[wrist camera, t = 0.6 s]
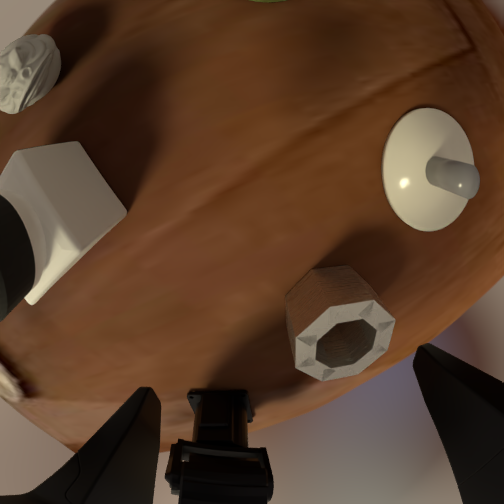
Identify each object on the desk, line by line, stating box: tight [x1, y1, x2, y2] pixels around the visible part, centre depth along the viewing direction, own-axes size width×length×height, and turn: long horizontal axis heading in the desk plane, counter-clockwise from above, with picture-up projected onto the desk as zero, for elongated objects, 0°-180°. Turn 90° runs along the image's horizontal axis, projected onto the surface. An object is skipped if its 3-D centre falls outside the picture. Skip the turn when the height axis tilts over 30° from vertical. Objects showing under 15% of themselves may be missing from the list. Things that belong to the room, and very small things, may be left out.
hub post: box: [381, 108, 480, 231], centre depth 15 cm, size 10×10×5 cm
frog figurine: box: [0, 34, 61, 114], centre depth 10 cm, size 6×7×7 cm
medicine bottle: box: [0, 141, 127, 322], centre depth 12 cm, size 7×7×12 cm
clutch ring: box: [285, 265, 395, 381], centre depth 20 cm, size 7×7×5 cm
